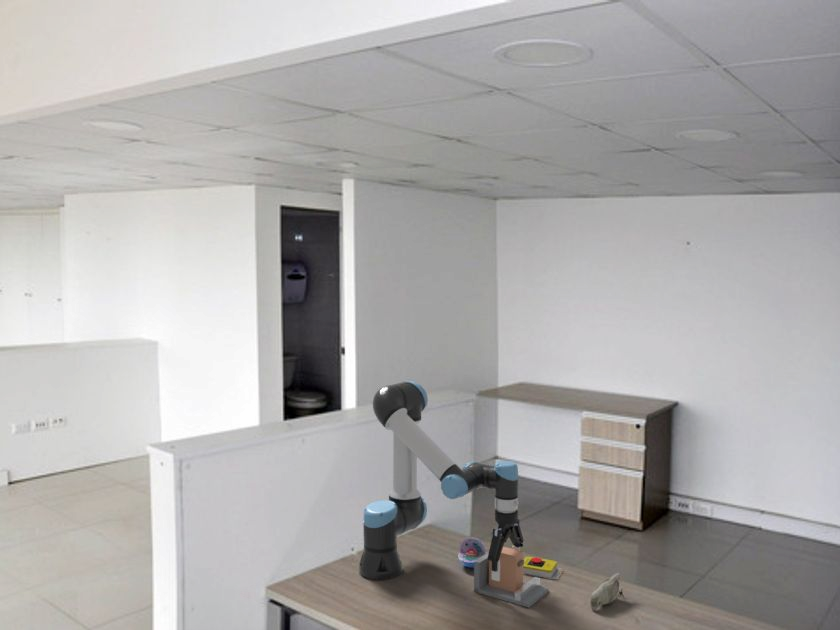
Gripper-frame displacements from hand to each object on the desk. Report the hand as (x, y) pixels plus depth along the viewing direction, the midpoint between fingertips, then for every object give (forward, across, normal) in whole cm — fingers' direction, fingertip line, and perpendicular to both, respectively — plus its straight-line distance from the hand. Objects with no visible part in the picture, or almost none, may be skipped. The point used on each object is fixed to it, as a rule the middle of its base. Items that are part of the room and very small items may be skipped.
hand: (505, 572), depth 240 cm
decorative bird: (+6, +10, -30) cm, 33 cm away
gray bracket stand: (+6, 0, -2) cm, 6 cm away
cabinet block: (+4, 0, 0) cm, 4 cm away
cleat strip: (+4, 0, -8) cm, 9 cm away
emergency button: (+7, +20, -2) cm, 21 cm away
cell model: (+6, +10, +19) cm, 22 cm away
